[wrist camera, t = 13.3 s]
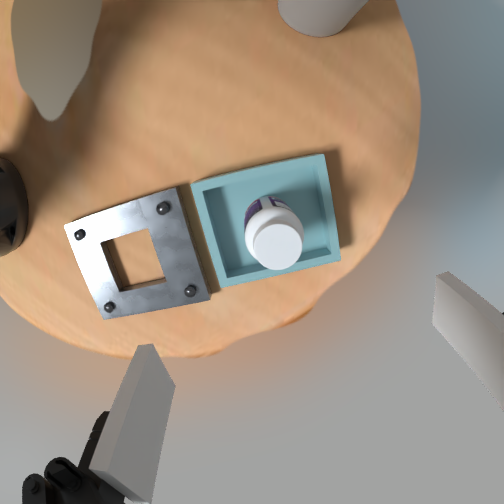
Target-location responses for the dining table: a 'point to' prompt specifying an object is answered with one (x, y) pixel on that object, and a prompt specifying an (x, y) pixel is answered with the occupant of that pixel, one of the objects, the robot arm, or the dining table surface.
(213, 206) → the tray
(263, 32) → the dining table surface
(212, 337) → the dining table surface
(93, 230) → the plate
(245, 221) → the pill bottle
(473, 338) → the robot arm
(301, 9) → the mug
